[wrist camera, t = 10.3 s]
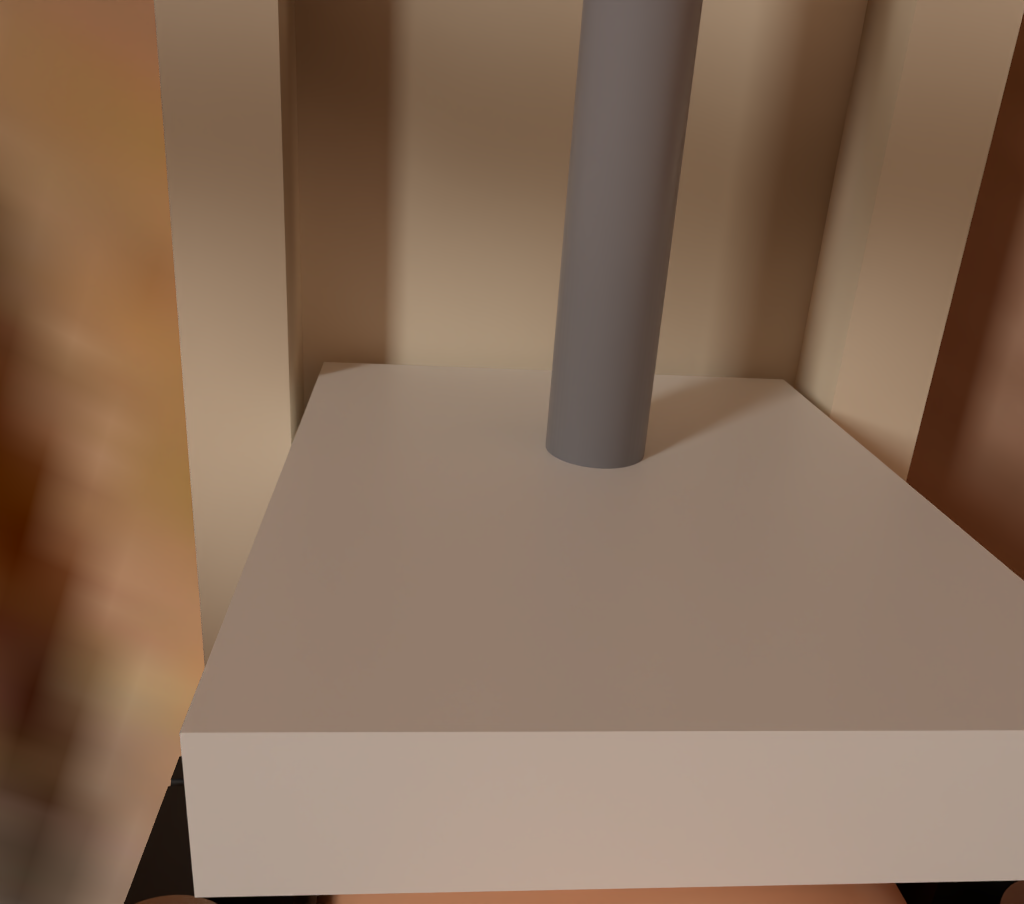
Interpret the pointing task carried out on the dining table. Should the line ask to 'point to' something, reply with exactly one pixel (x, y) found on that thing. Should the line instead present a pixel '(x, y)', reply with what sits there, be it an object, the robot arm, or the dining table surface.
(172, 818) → the robot arm
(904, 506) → the pusher
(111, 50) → the dining table surface
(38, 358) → the dining table surface
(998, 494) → the dining table surface
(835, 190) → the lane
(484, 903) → the jar
